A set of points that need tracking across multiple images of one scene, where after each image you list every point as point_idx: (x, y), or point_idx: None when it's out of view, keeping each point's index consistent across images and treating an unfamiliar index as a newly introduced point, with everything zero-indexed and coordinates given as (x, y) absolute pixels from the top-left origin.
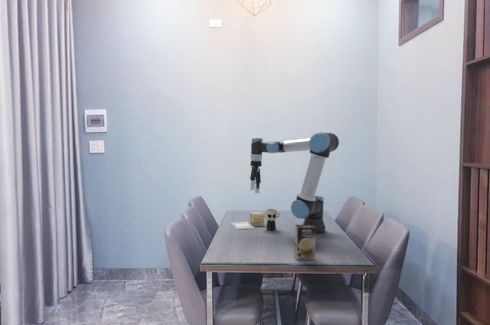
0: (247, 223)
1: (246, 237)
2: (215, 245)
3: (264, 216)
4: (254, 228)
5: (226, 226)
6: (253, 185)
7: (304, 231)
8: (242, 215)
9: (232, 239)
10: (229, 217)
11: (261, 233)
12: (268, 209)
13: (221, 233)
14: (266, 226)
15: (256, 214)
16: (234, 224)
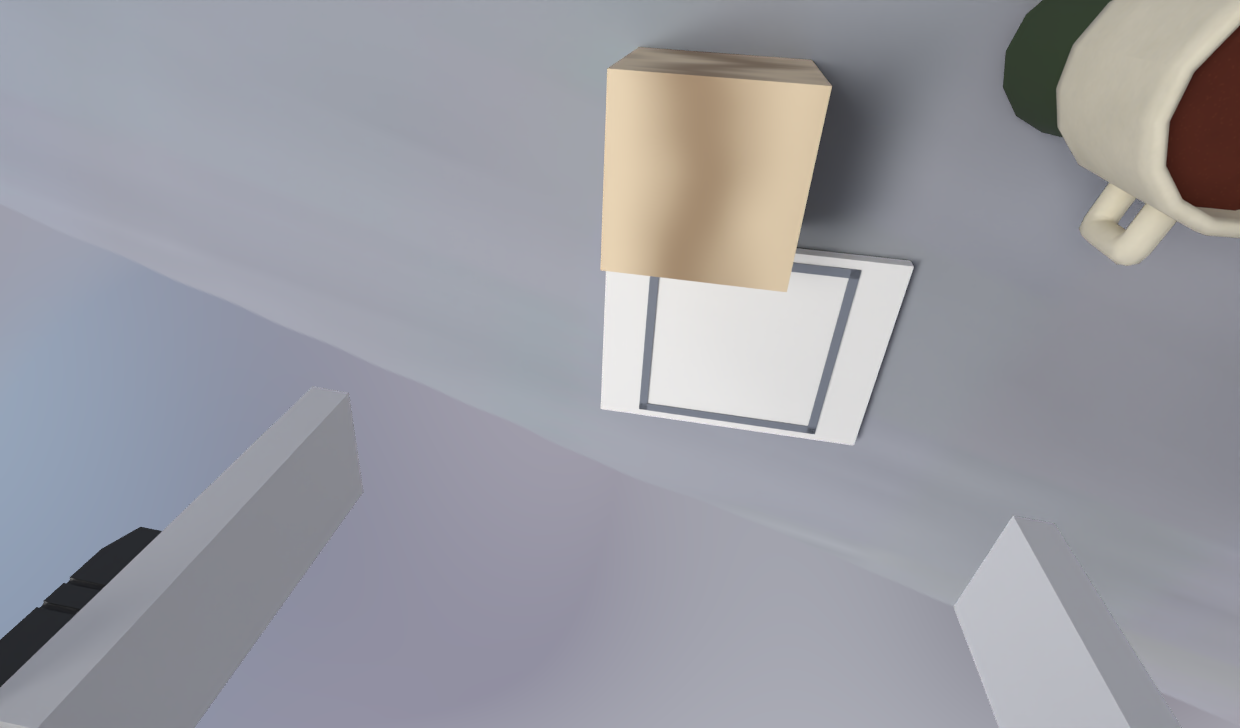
0: None
1: (1200, 476)
2: (1219, 709)
3: (1116, 221)
4: (910, 262)
5: (687, 467)
6: (256, 544)
7: None
8: (155, 117)
9: (1163, 584)
10: (289, 307)
11: (1178, 279)
12: (1162, 137)
13: (915, 578)
14: (1055, 135)
15: (797, 237)
16: (680, 405)
